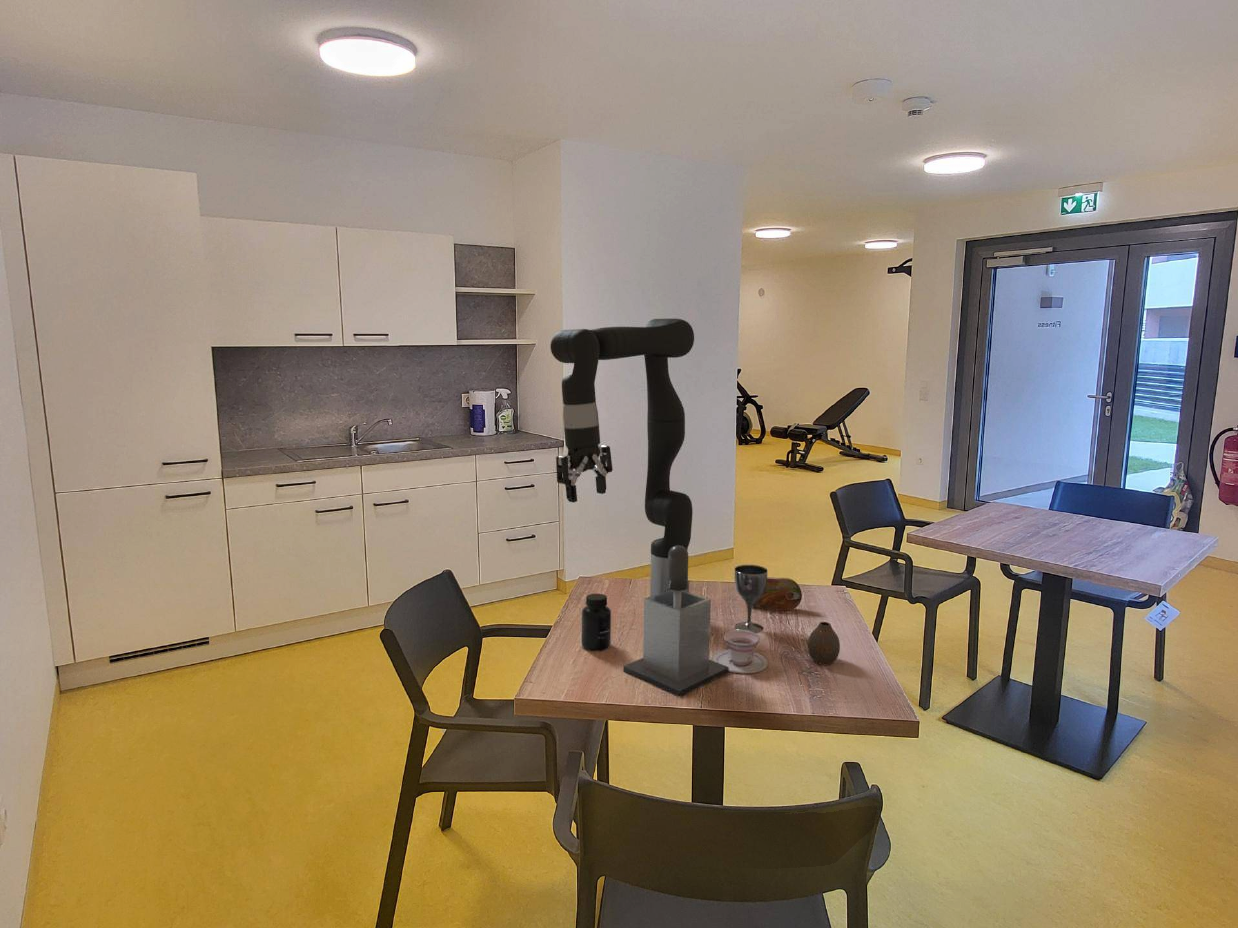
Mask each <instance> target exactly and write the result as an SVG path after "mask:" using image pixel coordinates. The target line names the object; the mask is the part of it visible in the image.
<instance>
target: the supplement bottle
mask: <svg viewBox="0 0 1238 928" xmlns="http://www.w3.org/2000/svg"><path fill="white" fill-rule="evenodd" d="M585 598H586V599H585V605H586V606H584V607H583V609H582V611H581V637H580V639H581V646H582V648H583V649H585V650H588V651H591V652H601V651H604V650H607V649H609V647H611V644H612V643H611V641H612V640H611V639H612V638H611V637H612V634H611V633H612V632H611V631H612V610H611V608H610V607H609V606H607V605H608V596H607V595H606V594H603V593H590V594H588V595H586V597H585Z"/></svg>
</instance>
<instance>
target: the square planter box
mask: <svg viewBox="0 0 1238 928" xmlns="http://www.w3.org/2000/svg"><path fill="white" fill-rule="evenodd" d="M711 605H712V600H711V598H708V597H704V596H702V595H698V594H696V593H692V592H690V591H689V592H686V591H683V590H682V591H681V609H678V608H675V607H674V590H668V591H665V592H662V593H659V594H656V595H654V596H651V597H650V596H648V597H645V598H643V640H642V641H643V645H642V646H643V647H642V648H643V649H642V651H643V654H642V655H643V656H642V657H641V658H639V659H637V660H635V661H633V662H630V663H628V664H626V665H623V669H622V670H623V672H624V673H626V674H628V675H631V676H633V677H635V678H637V679H639V680H642V681H644V682H646V683H648V684H651V685H653V686H655V687H658V688H659V689H661V690H664V691H666V692H669V693H671V694H673V695H675V696H677V697H679V696H680V697H682V696H684V695H686V694H688V693H690V692H693V691H694V690H696V689H698V688H700V687H702V686H705V685H706V684H709V683H711V682H712V681H714V680H716V679H718V678H720V677H723V676H724V675H726V674H728V673H730V672H729V667H727V666H725V665H722V664H719V663H717V662H714V661H713V659H710V648H711V647H710V643H711V642H710V641H711V639H710V638H711V613H712V610H711V608H712V606H711Z"/></svg>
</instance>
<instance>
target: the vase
mask: <svg viewBox="0 0 1238 928" xmlns="http://www.w3.org/2000/svg"><path fill="white" fill-rule="evenodd" d="M840 649H841V645H840V638H839V636H838V634H837V633H836V631H835V630H834V629H833V627H832V625H831V623H830V622H828V621H820V622H819V623H818V625H817V627H815V628H814V629H813V631H811V633H810V635H809V636H808V640H807V651H808V654H809V657H810V658H811V659H812V660H813V661H814V662H815V663H816V662H817V664H819V663H821V664H820V665H824V664H827V665H830V664H829V663H831V664H832V662H833V663H834V662H835V661H836V660H837V659H838V657H839V655H840Z"/></svg>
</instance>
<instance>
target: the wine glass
mask: <svg viewBox="0 0 1238 928" xmlns="http://www.w3.org/2000/svg"><path fill="white" fill-rule="evenodd" d="M767 577H768V569H767V567H764V566H761V565H757V564H740V565H737V566H735V568H734V584H735V589H736V591H737V593H738V595H739V596H740V597H741V598H742V600H743V601H744V603H745V605H746V609H747V611H746V612H747V621H742V622H741V621H740V622H737V623H735V624H734V626H733V628H734V630H748V631H752V632H754V633H756V634H758V633H761V632H762V631H764V627H763V625H762V624H759V623H756V622H752V621H751V620H752V611H753V607H752V606H753V604H754V603H755V601H756V600H757V599H758V598H759V597H760V596H761V595H762V594H763V593H764V590H765V587H766V583H767Z"/></svg>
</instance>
